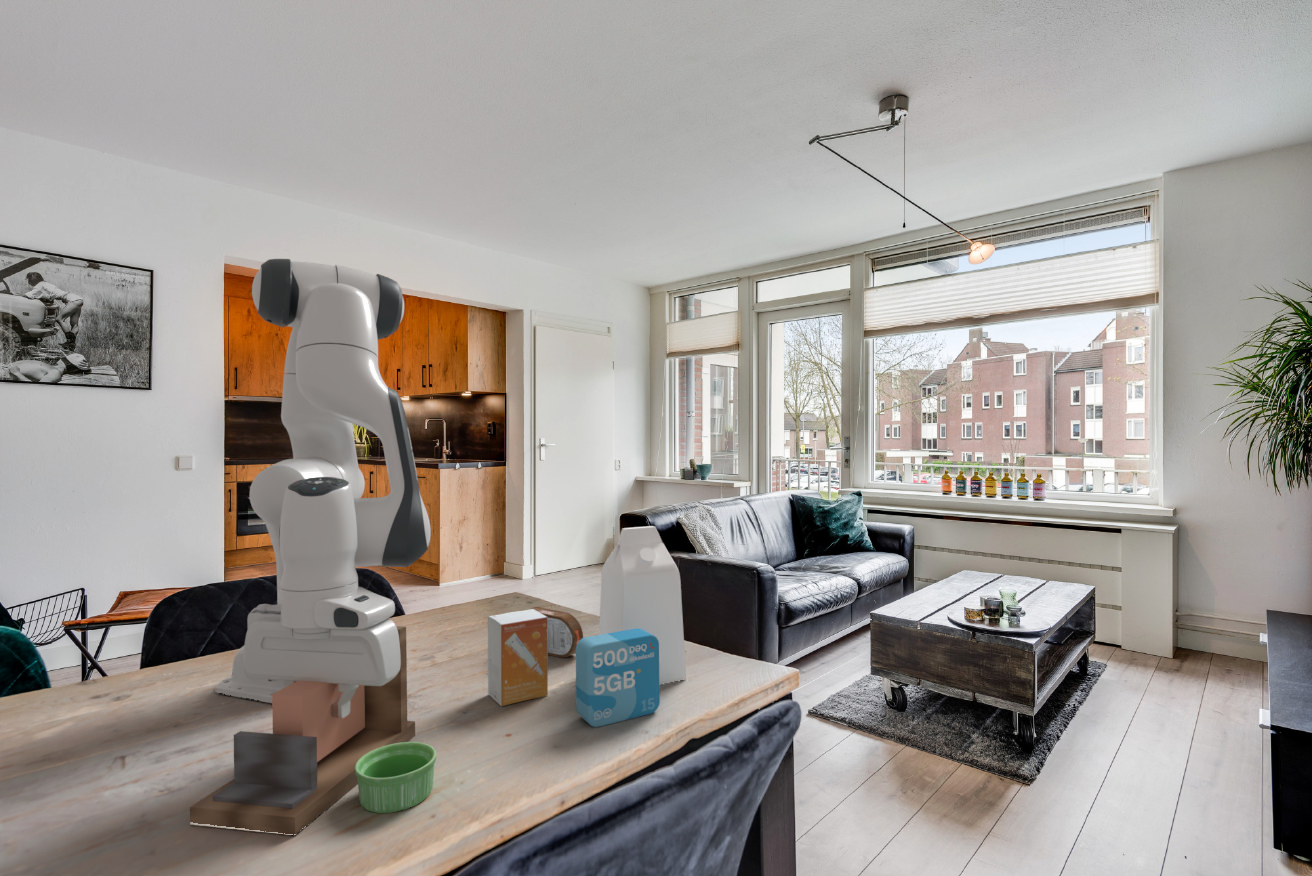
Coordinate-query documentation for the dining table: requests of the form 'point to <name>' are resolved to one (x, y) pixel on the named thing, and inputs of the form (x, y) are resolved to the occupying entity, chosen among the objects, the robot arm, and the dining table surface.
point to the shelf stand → (303, 766)
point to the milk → (645, 596)
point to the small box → (517, 656)
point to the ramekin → (395, 776)
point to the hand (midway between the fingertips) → (321, 714)
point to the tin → (561, 632)
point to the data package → (617, 676)
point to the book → (317, 714)
